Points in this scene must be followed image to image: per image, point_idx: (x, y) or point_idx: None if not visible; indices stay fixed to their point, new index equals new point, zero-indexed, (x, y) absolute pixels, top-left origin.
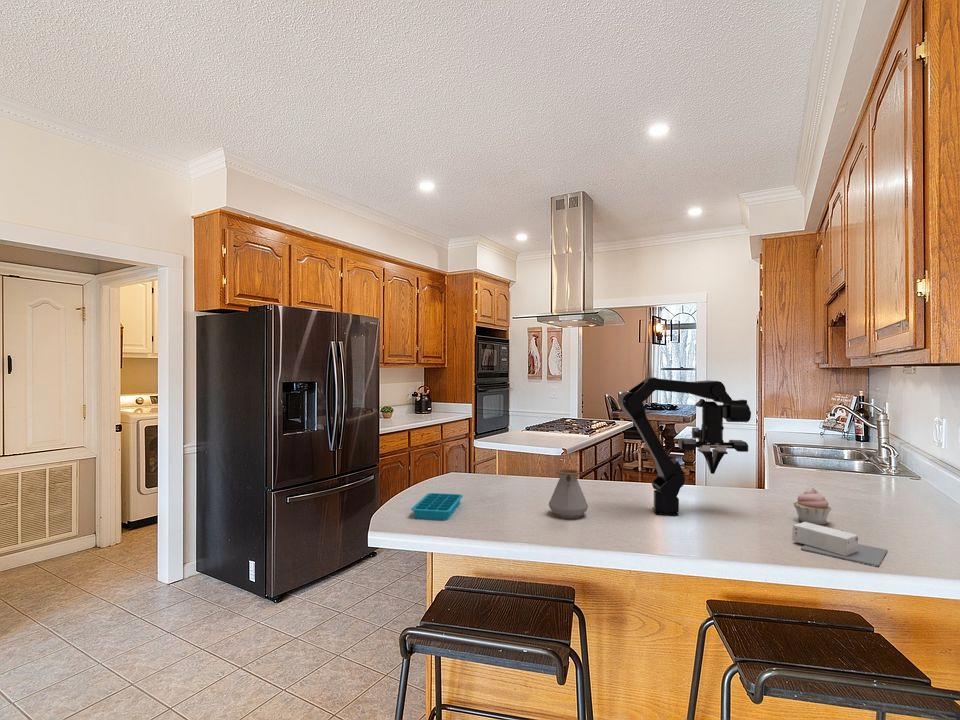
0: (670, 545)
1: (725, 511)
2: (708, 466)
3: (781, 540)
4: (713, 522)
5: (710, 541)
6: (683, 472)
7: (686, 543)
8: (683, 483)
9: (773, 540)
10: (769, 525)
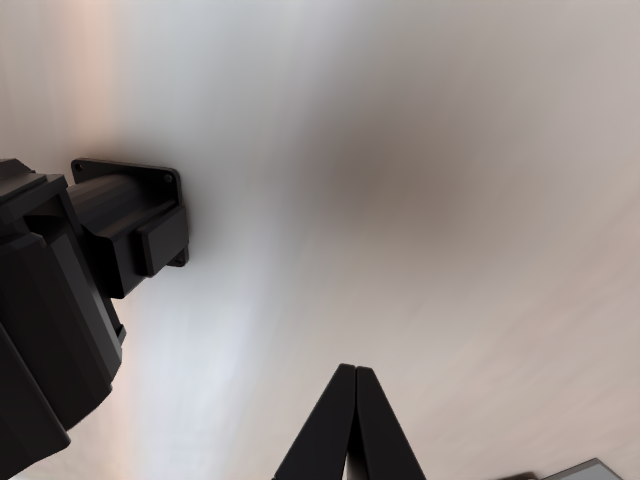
0: (147, 472)
1: (456, 167)
2: (305, 428)
3: (450, 470)
4: (311, 332)
5: (245, 462)
6: (46, 451)
7: (184, 467)
8: (115, 365)
9: (425, 468)
10: (526, 363)
